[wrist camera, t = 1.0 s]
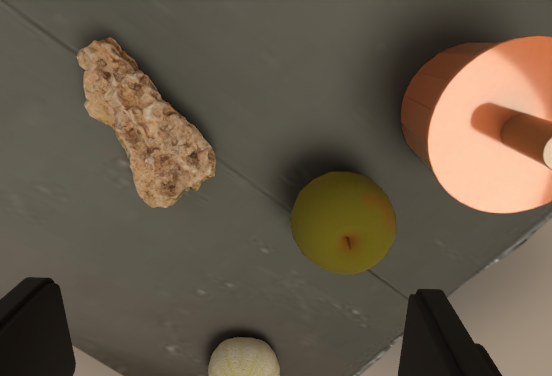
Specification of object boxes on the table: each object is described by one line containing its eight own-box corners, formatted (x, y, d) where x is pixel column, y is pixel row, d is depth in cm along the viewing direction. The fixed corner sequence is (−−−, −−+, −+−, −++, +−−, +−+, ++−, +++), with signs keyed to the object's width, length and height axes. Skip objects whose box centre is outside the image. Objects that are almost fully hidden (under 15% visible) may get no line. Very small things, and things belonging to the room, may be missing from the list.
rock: (32, 101, 38) (85, 28, 33) (69, 90, 42) (120, 24, 38) (155, 227, 41) (218, 175, 36) (177, 204, 45) (236, 156, 41)
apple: (273, 203, 44) (267, 253, 33) (334, 139, 41) (348, 172, 31) (338, 256, 46) (352, 319, 35) (401, 199, 43) (435, 249, 33)
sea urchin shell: (190, 381, 51) (203, 390, 44) (220, 323, 54) (237, 323, 47) (250, 412, 52) (272, 427, 45) (275, 354, 56) (299, 359, 49)
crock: (385, 72, 38) (413, 81, 30) (519, 21, 36) (592, 15, 27) (417, 186, 42) (451, 224, 33) (539, 145, 40) (609, 175, 31)
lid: (403, 77, 30) (432, 86, 24) (593, 5, 28) (680, -5, 22) (444, 228, 34) (478, 270, 28) (611, 176, 32) (688, 209, 26)
